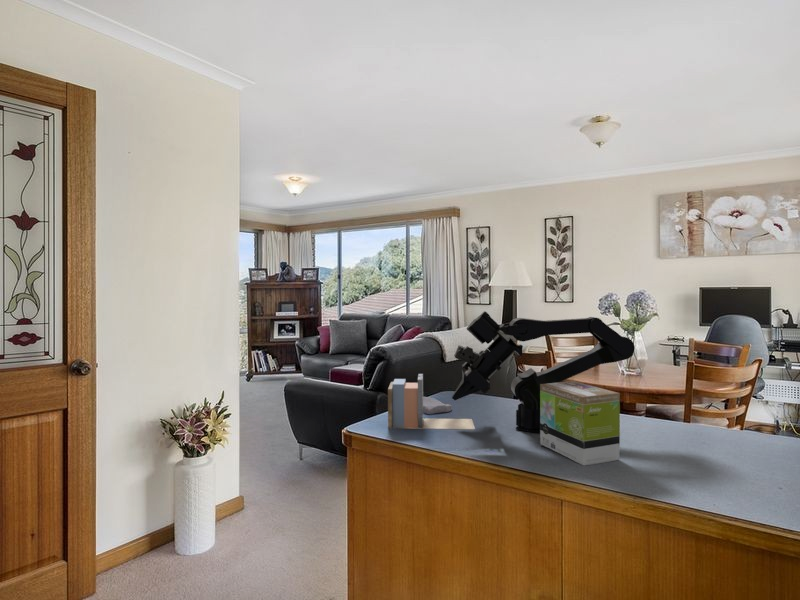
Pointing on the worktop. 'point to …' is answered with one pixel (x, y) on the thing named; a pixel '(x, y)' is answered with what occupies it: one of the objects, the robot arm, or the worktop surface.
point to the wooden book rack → (430, 422)
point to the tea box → (580, 421)
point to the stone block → (434, 406)
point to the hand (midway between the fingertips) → (453, 398)
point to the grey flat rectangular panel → (420, 400)
